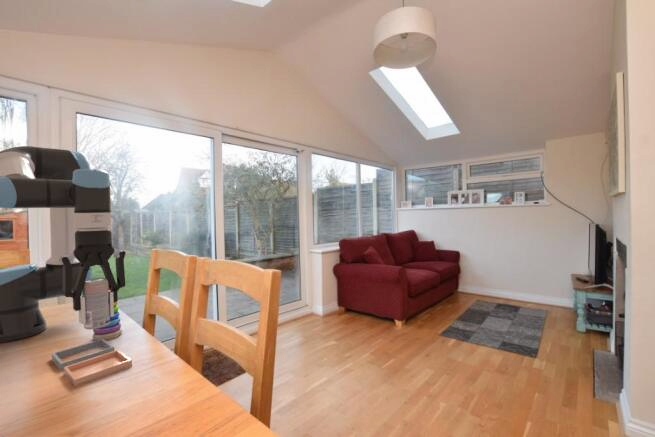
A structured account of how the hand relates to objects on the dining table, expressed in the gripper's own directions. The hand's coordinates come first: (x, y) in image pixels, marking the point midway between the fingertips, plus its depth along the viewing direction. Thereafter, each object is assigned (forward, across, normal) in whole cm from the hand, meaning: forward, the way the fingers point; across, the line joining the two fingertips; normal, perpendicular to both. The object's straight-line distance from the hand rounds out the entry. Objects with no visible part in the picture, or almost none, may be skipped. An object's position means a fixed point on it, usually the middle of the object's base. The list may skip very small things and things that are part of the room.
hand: (96, 318), depth 78 cm
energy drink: (+2, 0, 0) cm, 2 cm away
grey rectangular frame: (+13, 0, +13) cm, 19 cm away
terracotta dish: (+14, 0, 0) cm, 14 cm away
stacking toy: (+14, +9, +24) cm, 29 cm away
